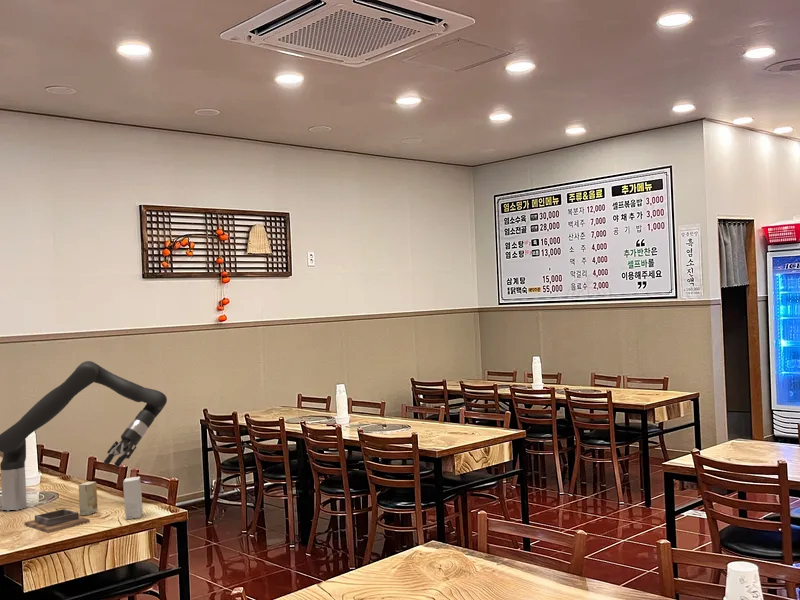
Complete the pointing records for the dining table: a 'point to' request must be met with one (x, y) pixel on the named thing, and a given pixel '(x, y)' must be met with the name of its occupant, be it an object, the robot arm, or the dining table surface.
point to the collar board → (56, 520)
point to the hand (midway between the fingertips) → (110, 464)
